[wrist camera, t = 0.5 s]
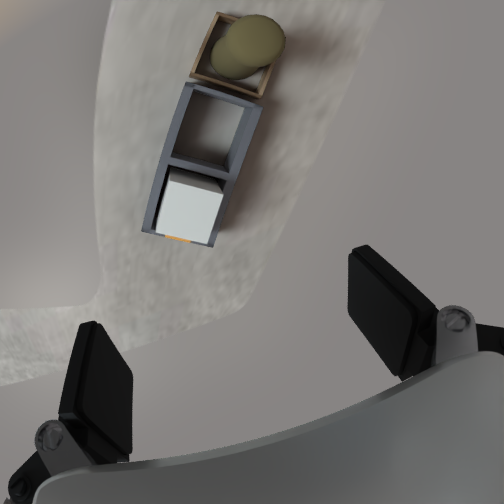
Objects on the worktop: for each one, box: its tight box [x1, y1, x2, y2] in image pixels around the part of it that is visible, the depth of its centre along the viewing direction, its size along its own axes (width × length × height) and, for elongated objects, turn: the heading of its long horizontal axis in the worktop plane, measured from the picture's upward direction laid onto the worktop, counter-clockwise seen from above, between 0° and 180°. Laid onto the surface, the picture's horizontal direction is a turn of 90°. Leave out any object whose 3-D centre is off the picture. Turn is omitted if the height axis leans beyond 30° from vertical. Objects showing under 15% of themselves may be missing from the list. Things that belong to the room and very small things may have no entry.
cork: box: [210, 14, 285, 80], centre depth 25 cm, size 6×6×11 cm
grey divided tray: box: [141, 82, 263, 248], centre depth 33 cm, size 17×9×4 cm, turn 159°
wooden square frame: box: [189, 12, 286, 99], centre depth 29 cm, size 8×8×2 cm
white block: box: [156, 167, 223, 244], centre depth 33 cm, size 6×6×7 cm
